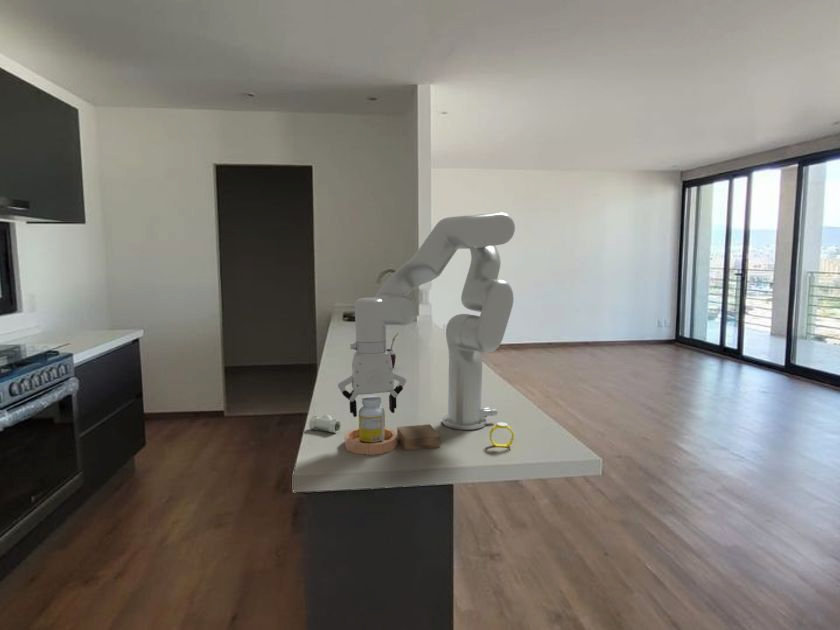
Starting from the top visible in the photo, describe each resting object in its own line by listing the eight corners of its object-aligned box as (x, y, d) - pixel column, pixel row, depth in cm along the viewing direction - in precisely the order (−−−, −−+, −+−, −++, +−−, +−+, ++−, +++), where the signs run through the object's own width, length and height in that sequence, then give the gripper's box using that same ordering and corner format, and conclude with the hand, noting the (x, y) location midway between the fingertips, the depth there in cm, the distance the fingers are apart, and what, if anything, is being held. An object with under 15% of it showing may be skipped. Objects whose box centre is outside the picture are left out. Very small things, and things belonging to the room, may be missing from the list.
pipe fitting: (323, 425, 146) (309, 431, 139) (323, 412, 145) (309, 417, 139) (347, 429, 142) (333, 435, 136) (347, 415, 142) (334, 421, 136)
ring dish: (390, 433, 137) (390, 424, 137) (401, 451, 125) (401, 441, 125) (342, 438, 134) (342, 428, 134) (348, 456, 121) (348, 446, 121)
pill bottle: (373, 436, 134) (373, 393, 132) (390, 442, 129) (389, 398, 128) (354, 442, 129) (353, 398, 128) (370, 449, 125) (369, 403, 123)
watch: (511, 445, 130) (514, 423, 130) (513, 449, 128) (515, 427, 127) (488, 443, 131) (490, 420, 130) (489, 447, 128) (491, 424, 127)
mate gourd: (376, 370, 214) (376, 334, 212) (382, 366, 221) (382, 332, 219) (394, 370, 212) (394, 335, 210) (398, 366, 220) (398, 332, 218)
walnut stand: (429, 435, 137) (429, 424, 136) (439, 447, 128) (439, 435, 128) (397, 438, 134) (397, 427, 134) (405, 450, 126) (405, 438, 125)
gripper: (338, 352, 121) (341, 421, 123) (408, 347, 125) (410, 414, 127) (334, 346, 128) (337, 412, 130) (401, 342, 132) (403, 405, 135)
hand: (373, 413), depth 129 cm, fingers open, 9 cm apart
